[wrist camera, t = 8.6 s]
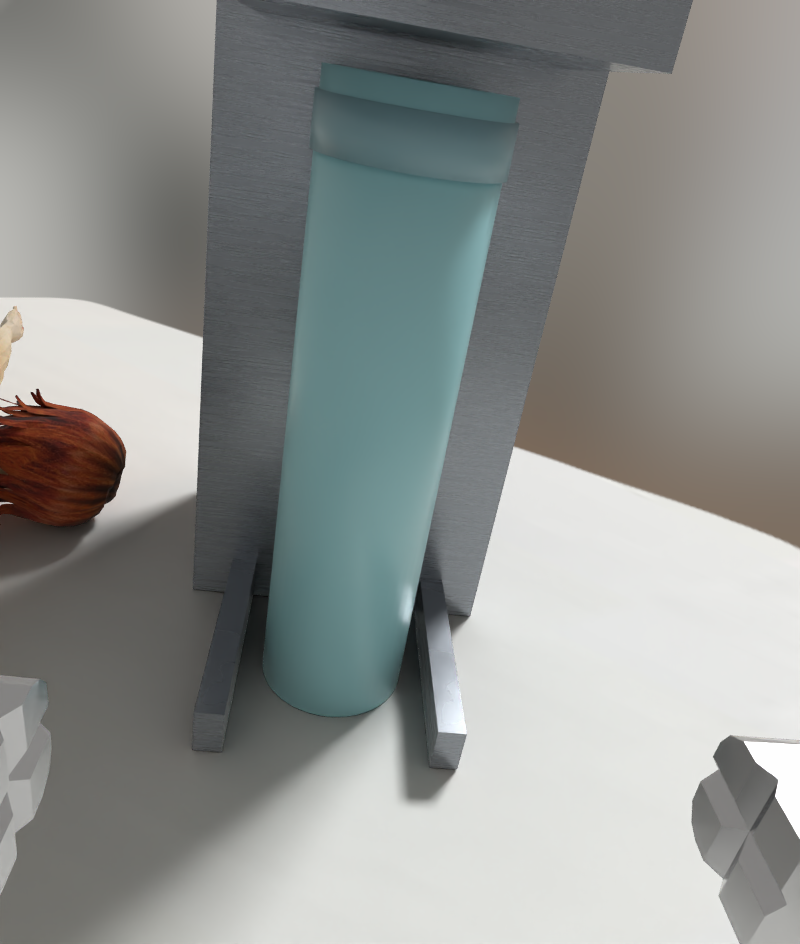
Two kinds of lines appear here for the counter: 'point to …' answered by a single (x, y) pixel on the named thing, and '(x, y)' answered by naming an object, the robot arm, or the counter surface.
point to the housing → (280, 260)
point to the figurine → (54, 454)
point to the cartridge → (376, 370)
